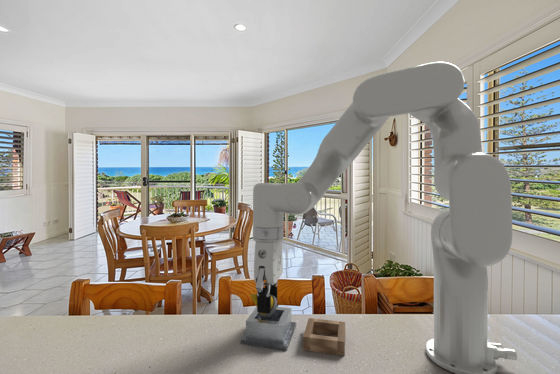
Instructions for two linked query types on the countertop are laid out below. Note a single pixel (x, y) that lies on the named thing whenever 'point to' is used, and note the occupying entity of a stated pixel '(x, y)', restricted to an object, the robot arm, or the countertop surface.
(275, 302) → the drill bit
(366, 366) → the countertop surface
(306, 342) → the socket block
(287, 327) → the grey hollow square block
